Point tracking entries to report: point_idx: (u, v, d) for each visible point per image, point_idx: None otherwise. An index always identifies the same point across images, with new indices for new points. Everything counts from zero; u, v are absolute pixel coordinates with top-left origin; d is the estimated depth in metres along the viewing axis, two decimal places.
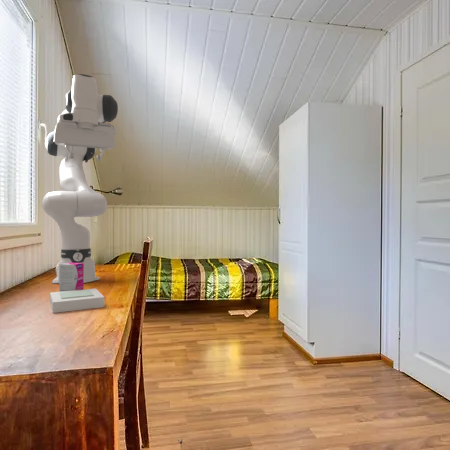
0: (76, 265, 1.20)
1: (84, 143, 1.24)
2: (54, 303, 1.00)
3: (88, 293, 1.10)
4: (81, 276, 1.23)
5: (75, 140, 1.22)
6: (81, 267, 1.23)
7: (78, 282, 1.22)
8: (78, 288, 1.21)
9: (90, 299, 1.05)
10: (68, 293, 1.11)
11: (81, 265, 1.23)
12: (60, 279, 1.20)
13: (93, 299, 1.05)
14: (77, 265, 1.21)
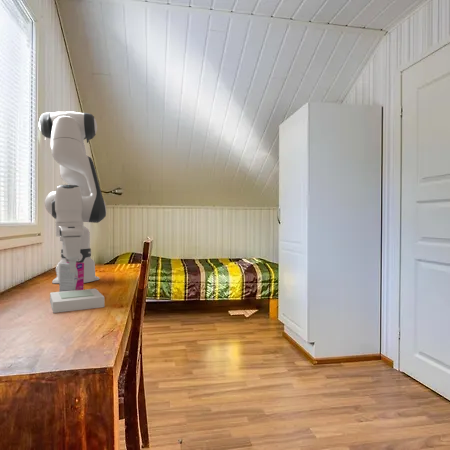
0: (76, 265, 1.20)
1: None
2: (54, 303, 1.00)
3: (88, 293, 1.10)
4: (81, 275, 1.23)
5: None
6: (81, 267, 1.23)
7: (79, 282, 1.22)
8: (78, 288, 1.21)
9: (90, 299, 1.05)
10: (68, 293, 1.11)
11: (81, 265, 1.23)
12: (60, 279, 1.20)
13: (93, 299, 1.05)
14: (77, 265, 1.21)
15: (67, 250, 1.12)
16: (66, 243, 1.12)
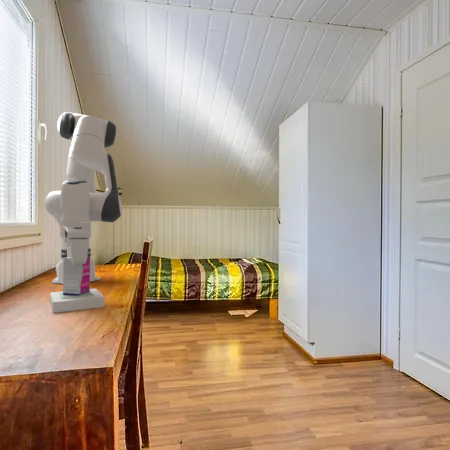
0: None
1: None
2: (54, 303, 1.00)
3: (88, 293, 1.10)
4: (87, 271, 1.11)
5: None
6: (87, 261, 1.11)
7: (84, 278, 1.10)
8: (83, 285, 1.09)
9: (90, 299, 1.05)
10: None
11: (87, 259, 1.11)
12: (64, 274, 1.08)
13: (93, 299, 1.05)
14: None
15: (73, 254, 1.01)
16: (72, 246, 1.01)
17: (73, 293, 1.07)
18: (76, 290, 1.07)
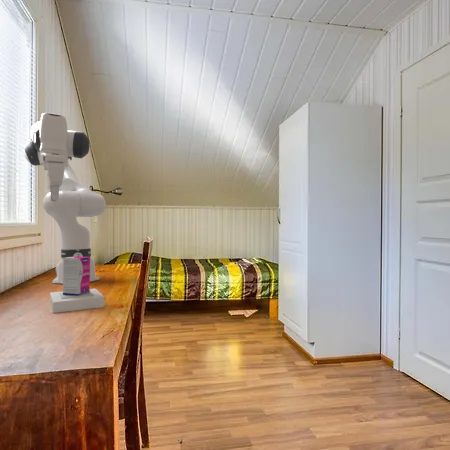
0: (81, 259, 1.08)
1: None
2: (54, 303, 1.00)
3: (88, 293, 1.10)
4: (87, 271, 1.11)
5: None
6: (87, 261, 1.11)
7: (84, 278, 1.10)
8: (83, 285, 1.09)
9: (90, 299, 1.05)
10: None
11: (87, 259, 1.11)
12: (64, 274, 1.08)
13: (93, 299, 1.05)
14: (82, 259, 1.09)
15: (50, 174, 1.12)
16: (49, 167, 1.12)
17: (73, 293, 1.07)
18: (76, 290, 1.07)
